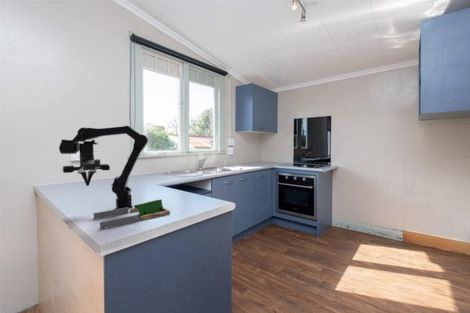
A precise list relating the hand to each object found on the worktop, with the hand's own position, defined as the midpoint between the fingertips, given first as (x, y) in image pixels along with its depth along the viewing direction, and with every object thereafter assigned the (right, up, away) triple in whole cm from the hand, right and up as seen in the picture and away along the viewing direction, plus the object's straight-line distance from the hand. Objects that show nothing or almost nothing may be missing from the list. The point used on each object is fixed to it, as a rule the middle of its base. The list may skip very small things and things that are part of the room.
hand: (87, 185), depth 110 cm
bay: (+32, -12, -4) cm, 35 cm away
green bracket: (+32, -13, -5) cm, 34 cm away
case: (+21, -13, -14) cm, 28 cm away
